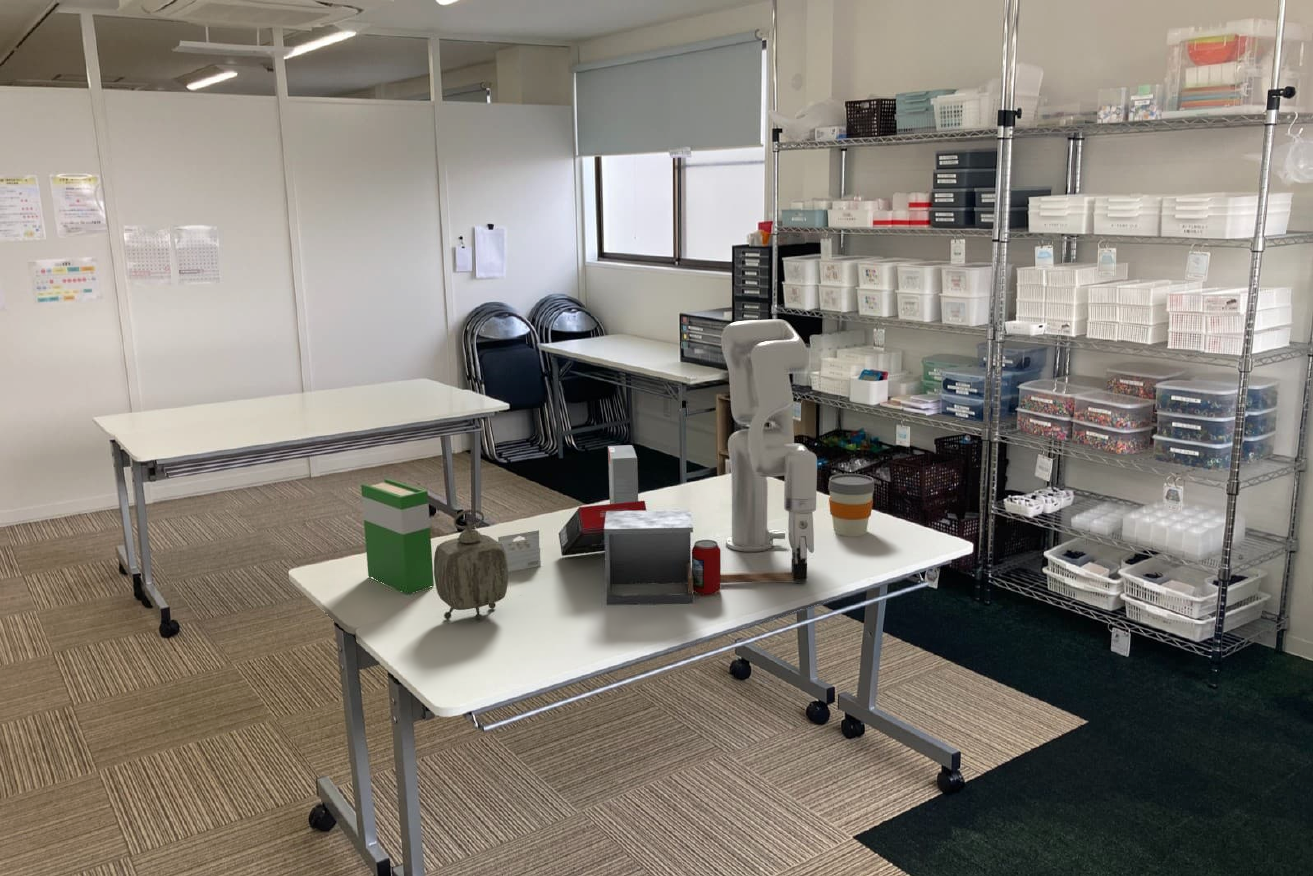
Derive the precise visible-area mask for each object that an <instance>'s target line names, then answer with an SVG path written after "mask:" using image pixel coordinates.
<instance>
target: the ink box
mask: <svg viewBox="0 0 1313 876" xmlns="http://www.w3.org/2000/svg"><path fill="white" fill-rule="evenodd" d="M518 537H521V538H524V539H520V540H516V541H514V539H516V538H518ZM497 542H499V543H500V544H502V546H503V548H504V550H505V553H506V558H507V566H508V573H509V572H515V571H521V570H526V569H532V568H537V567H541V565H542V562H541V560H542V559H541V548H540V530H538V529H537V530H534V531H533V530H532V531H527V532H526V531H525V532H521V533H515V534H509V535H508V534H507V535H503V536H498V537H497Z"/></svg>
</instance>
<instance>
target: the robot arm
mask: <svg viewBox="0 0 1313 876" xmlns="http://www.w3.org/2000/svg"><path fill="white" fill-rule="evenodd" d="M720 342H721V350H722V355H723V357H724V361H725V362H726V366H727V370H728V377H729V379H728V380H729V393H730V395H729V396H730V409H731V415H732V418H733V420H734V421H735V422H736V423H738V424H742V425H743V424H744V425H746V424H749V426H748V427H749V428H745V429H739V430H737V431H735V432H733V433H732V434H731V435H729V438H728V441H727V450H728V456H729V463H730V473H731V536H729V537H727V538H726V540H725V545H726V547H728V548H729V549H732V550H733V551H739V552H747V553H748V552H749V553H751V552H752V553H753V552H754V553H755V552H763V551H767V550H769V549H771V548H772V547H773V546H774V539H775V540H785V539H786V532H785V531H780V530H778V529H773V530H771V529H770V528H769V526H768V508H769V507H768V500H769V499H768V498H769V497H768V495H769V494H768V490H769V486H768V483H769V482H768V479H767V478H773V477H783V476H784V492H783V493H784V494H783V495H784V497H783V509H784V511H786V512H788V519H787V520H788V523H787V525H788V526H787V527H788V529H787V530H788V532H787V533H788V542H789V545H790V548H791V551H792V550H793V552H795V563H793V578H794V579H795V580H796V579H806V580H807V578H808V553H810V554H812V553H814V552H815V546H814V545H815V543H814V541H815V540H814V539H815V538H814V533H815V532H814V531H815V530H814V515H813V512H815V511H817V489H818V488H817V487H818V486H817V484H818V483H817V481H818V480H817V479H818V474H817V473H818V472H817V471H818V457H817V455H816V454H815V453H814V452H812V451H810V450H809V449H808V448H807V446H805V445H804V444H802V443H797V442H796V443H795V436H794V434H795V433H794V418H793V405H792V404H793V402H794V396H793V390H792V385H791V380H790V375H791V374H800V373H804V372H805V371H806V370H807V369H808V367H809V363H810V362H809V361H810V359H809V358H810V356H809V352H808V349H807V345H806V344H805V341H804V340H803V339H802V337H801V336H800V335H799V334H798V332H797V331H796V330H795V328H794V327H792V325H791V324H790V323H789V322H788V321H787V320H784V319H778V318H776V319H775V318H774V319H761V320H760V319H757V320H755V319H754V320H753V319H751V320H742V321H735V322H731V323H729V324H728V325H726V326H725V327H724V328H723V331H722V333H721V341H720ZM766 423H770V424H771V426H770V427H765V424H766ZM766 549H767V550H766ZM797 549H800V550H798V551H797ZM798 554H800V555H798ZM790 565H791V566H790V567H791V570H790V572H792V563H791V564H790Z"/></svg>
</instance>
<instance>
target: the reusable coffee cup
mask: <svg viewBox="0 0 1313 876" xmlns="http://www.w3.org/2000/svg"><path fill="white" fill-rule="evenodd" d="M828 480H829V481H828V486H827V487H828V491H829V497H828V502H829V503H828V505H829V513H830V514H829V515H831V517H832V525H833V526H832V528H833V532H834V531H835V532H836V533H838V534H840V535H839V536H842V535H843V537H861V536H864V535H866V534H867V530H868V525H869V518H870V517H871V515H872V510H873V503H874V498H873V495H874V492H875V481H874V478H873V477H871V476H868V475H866V474H865V475H864V474H859V473H841V474H840V473H838V474H835V475H831V476H830V477H829V479H828ZM835 532H834V533H835ZM836 533H835V534H836ZM838 534H837V535H838Z"/></svg>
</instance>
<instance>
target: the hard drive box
mask: <svg viewBox="0 0 1313 876" xmlns="http://www.w3.org/2000/svg"><path fill="white" fill-rule="evenodd" d="M607 454H608V455H607V456H608V457H607V458H608V459H607V460H608V481H609V482H608V485H609V489H608V490H609V504H615V503H625V502H635V501H639V478H638V476H639V475H638V472H639V471H638V457H637V454H636V450H635V448H634V445H631V444H627V445H608V446H607Z"/></svg>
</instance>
